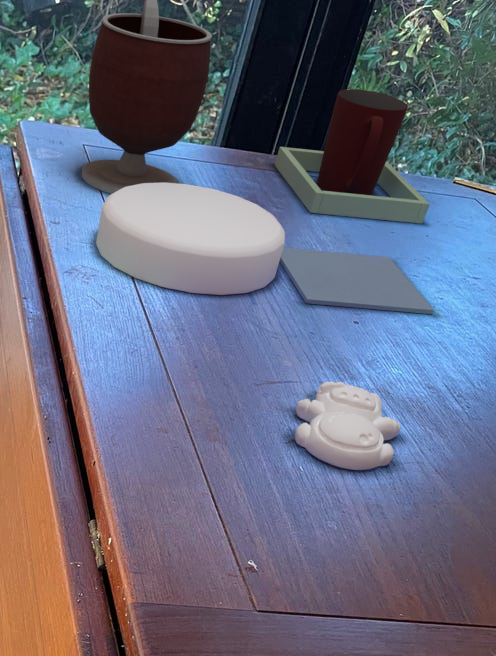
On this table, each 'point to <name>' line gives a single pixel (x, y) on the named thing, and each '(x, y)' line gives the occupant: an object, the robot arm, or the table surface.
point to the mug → (359, 140)
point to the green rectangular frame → (397, 208)
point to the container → (190, 238)
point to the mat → (352, 281)
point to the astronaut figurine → (346, 427)
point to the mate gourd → (144, 91)
